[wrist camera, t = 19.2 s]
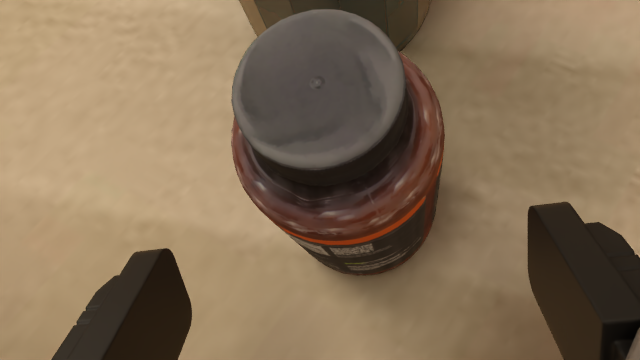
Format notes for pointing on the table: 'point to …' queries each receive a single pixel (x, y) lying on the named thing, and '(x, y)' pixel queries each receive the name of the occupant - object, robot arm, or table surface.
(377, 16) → the mug
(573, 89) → the table surface
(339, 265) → the supplement bottle
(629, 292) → the robot arm
